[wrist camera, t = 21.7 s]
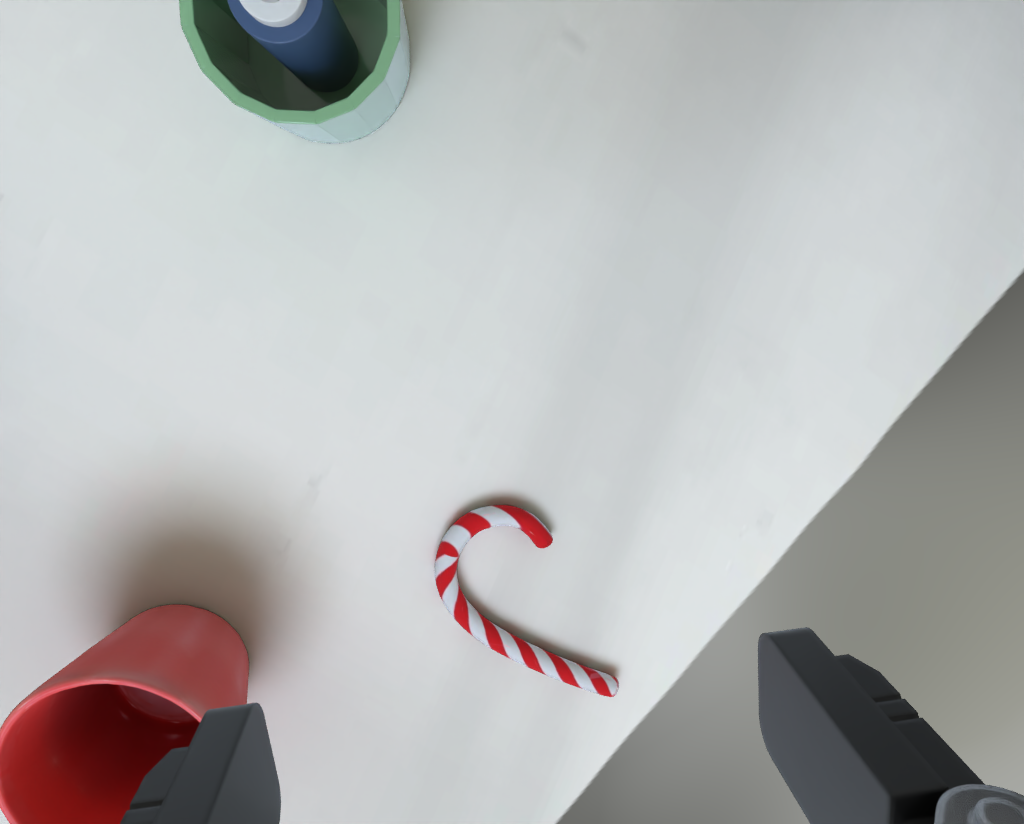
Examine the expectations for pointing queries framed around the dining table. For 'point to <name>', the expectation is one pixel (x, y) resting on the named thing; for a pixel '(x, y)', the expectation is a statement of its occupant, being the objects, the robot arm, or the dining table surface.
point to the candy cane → (485, 628)
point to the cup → (280, 94)
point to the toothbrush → (302, 38)
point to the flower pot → (117, 716)
